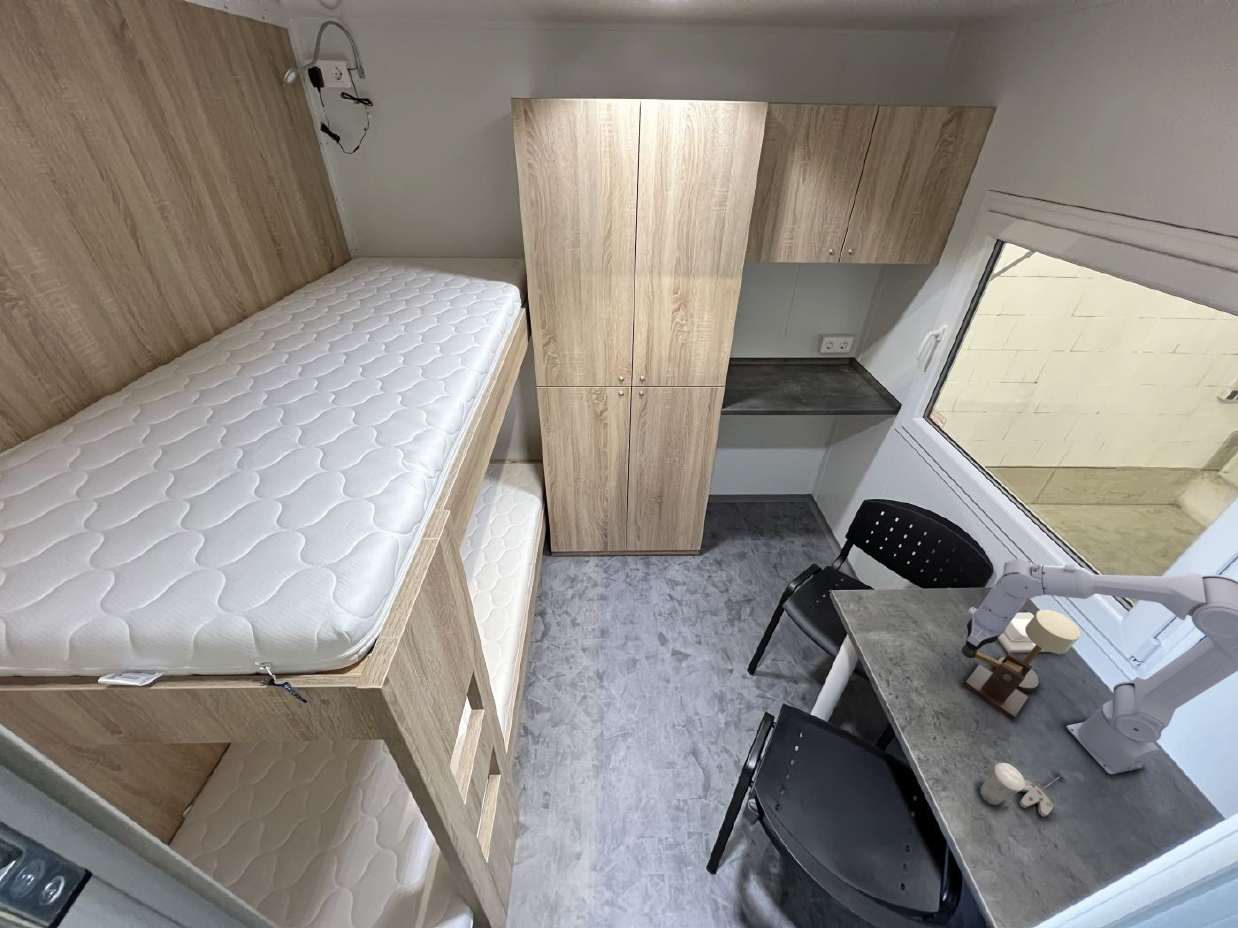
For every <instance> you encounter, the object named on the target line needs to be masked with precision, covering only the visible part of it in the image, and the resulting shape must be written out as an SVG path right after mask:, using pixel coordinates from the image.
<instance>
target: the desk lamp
mask: <svg viewBox="0 0 1238 928" xmlns="http://www.w3.org/2000/svg"><path fill="white" fill-rule="evenodd" d="M1025 631H1026V634H1027V636H1028V637H1029V639H1030V640H1031V641H1032V642H1033V643H1035V644H1036V645H1035V647H1034V648H1033V649H1032V650H1031V651H1030V652H1028V654H1027V655H1026V656H1025V657H1024V658H1023V661H1024V662H1026V663H1027V664H1029V665H1030V664H1031V663H1032V662H1033V661H1034V659H1035V658H1036V657H1037V656H1038V655H1039V653H1041V652H1040V651H1041V650H1042V649H1044V650H1046V651H1049V652H1048V653H1052V654H1057V655H1061V654H1065V653H1067V652H1068V651H1069V650H1070V649H1071V648H1072V647H1073V645H1074V644H1075V643H1076V642H1077V641H1079V639H1080V638H1081V636H1082V632H1081V629H1080V628H1079V626H1078V625H1077V624H1076V622H1074V621H1073V620H1072V619H1071V618H1070V617H1068V616H1067V615H1064V614H1062V613H1060V612H1058V611H1055V610H1051V609H1039V610H1038V611H1037V612H1036V613H1035V614H1034V617H1033V618H1032V620H1031V621H1030V622H1029V623H1028V625H1027V626H1026V628H1025ZM1005 657H1006V656H1001V657H999V658H998V659H997V660H998V661H1001V662H1002V661H1003V660H1004V658H1005ZM993 667H994V668H993V669H994V671H995V670H996V668H997V667H996V666H994V665H993ZM1039 683H1040V681H1039V677H1038V675H1037V673H1036V672H1035V671H1034V669H1033V667H1032V668H1031V670H1030V671H1029V672H1028V673H1027V674H1026V676H1025V679H1024V680H1023V681H1022V682H1021V683H1020V685H1019V686H1018V687H1017V688H1016V689H1017V690H1019V691H1020V692H1022V693H1031V692H1033V691H1034V690H1035V689H1036V688H1037V687H1038V686H1039Z"/></svg>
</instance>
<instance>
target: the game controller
mask: <svg viewBox="0 0 1238 928" xmlns="http://www.w3.org/2000/svg"><path fill="white" fill-rule="evenodd" d="M1060 778H1061V777H1060V776H1057V778H1055V779H1053V781H1051V782H1050V783H1048V784H1046V785H1045V786H1044V787H1043V788H1041V789H1040V788H1039V787H1038V786H1037V785H1036V784H1034V783H1033V782H1032V781H1030V780H1028V779H1025V778H1024V780H1025V786H1032V785H1035V787H1031V788H1023V789H1022V790H1021V791H1020V792H1022V793H1025V794H1024V795H1023V796H1022V798H1021V799H1020V801H1019V806H1020V807H1021V808H1025V809H1026V808H1028V807H1031V806H1034V805H1036V804H1037V811H1038V814H1039V815H1040V816H1041V817H1047V816H1048V815H1050V813H1051V812H1052V810H1053V808H1054V806H1053V805H1054V804H1053V803H1052V801H1051V800H1050V798H1049V797H1048V796H1047V795H1046V793H1044V792H1043V790H1044V789H1046V788H1047V787H1049V786H1050V785H1051V784H1053V783H1054V782H1056V781H1057V780H1058V779H1060Z"/></svg>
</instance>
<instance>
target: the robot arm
mask: <svg viewBox="0 0 1238 928" xmlns="http://www.w3.org/2000/svg"><path fill="white" fill-rule="evenodd" d="M1094 595H1102V596H1109V597H1116V598H1124V599H1129V600H1130V599H1131V600H1136V601H1142V602H1143V601H1144V602H1151V603H1157V604H1160V605H1162V606H1163V607H1164V608H1166V609H1167V610H1168V611H1169V612H1171V613H1172V614H1173V615H1174V616H1175V617H1177V618H1178V619H1180V620H1181V621H1185V620H1186V619H1187V616H1189V617H1190V618H1191V622H1192V624H1193V626H1195V628H1196V629H1197V630H1199V631H1200V632H1201V633H1202V634H1203V635H1204V636H1206V637H1204V638H1203V639H1202V640H1201V641H1199V642H1197V643H1195V645H1194V646H1192V647H1191V648H1189V649H1187V650H1186V651H1185V652H1183V653H1182V654H1181V655H1179V656H1178V657H1176V658H1174V659H1173V660H1172V661H1170V662H1169V663H1167V664H1166V665H1165V666H1163V667H1162V668H1160V669H1159V670H1158V671H1156V672H1155V673H1153V674H1152V675H1151V676H1149V677H1148V678H1143V677H1139V676H1136V677H1135V678H1134V679H1132V680H1128V681H1121V682H1118V683H1116V684H1115V685H1114V687H1113V691H1112V692H1113V698H1112V699H1111V700H1108V701H1106V702H1105V703H1104V704H1103V705H1101V706H1100V707H1099V708H1098V709H1096V711H1095V712H1093V713H1092V714H1091V716H1089V717H1088V718H1087V719H1086V720H1085V721H1084V722H1083V721H1082V722H1078V723H1074V724H1068V725H1066V726H1065V727H1066V729H1067V730H1068V732H1069V733H1070V734H1071V735H1072V736H1073V737H1074V738H1075V740H1077V742H1078V743H1079V744H1080V745H1081V746H1082V747H1083V748H1084V749H1085V750H1086V751H1087V753H1089V755H1090V756H1091V757H1092V758H1093V759H1094V760H1095V762H1097V763H1098V764H1099V766H1100V767H1101V768H1103V771H1105V773H1107V774H1108V775H1115V774H1121V773H1124V772H1128V771H1134V770H1138V769H1141V768H1143V765H1145V764H1146V763H1148V762H1149V761H1150V760H1151V759H1153V758H1155V757H1156V756H1158V754H1159V753H1160V749H1159V748H1158V747H1157V745H1156V744H1155V742H1157V741H1159V740H1161V737H1162V732H1163V730H1164V729H1166V728H1168V727H1169V726H1170V723H1171V721H1172V718H1173V717H1174V714H1175V712H1176V710H1177V709H1178V708H1180V707H1182V706H1183V705H1184V704H1187V703H1188V702H1189V701H1191V700H1193V699H1194V698H1196V697H1198V696H1199V695H1201V694H1202V693H1204V692H1206V691H1208V690H1209V689H1211V688H1213V687H1214V686H1216V685H1217V684H1219V683H1220V682H1222V681H1223V680H1225V679H1228V677H1230V676H1232V675H1234V674H1235V673H1236V672H1238V580H1237V579H1234V578H1233V577H1230V576H1226V575H1221V574H1201V573H1195V572H1188V573H1182V574H1177V575H1172V576H1158V575H1157V576H1156V575H1123V574H1121V575H1120V574H1119V575H1118V574H1117V575H1116V574H1095V573H1093V572H1091V571H1090V570H1088V569H1087V568H1085V567H1079V566H1075V565H1074V564H1065V565H1050V564H1039V563H1034V562H1031V561H1029V560H1028V559H1022V558H1017V559H1012V560H1009V561H1008V562H1007V561H1006V562H1004V564H1003V571H1002V574H1001V576H1000V577H999V578H998V579H997V581H996V583H994V584H993V585H992V587H991V589H990V590H989V591H988V592H987V594H986V596H985V598H984V599H983V600H982V602H981V603H980V605H979V606H978V608H976V607H973V606H971V607H970V608H969V609H968V610H967V614H969V615H970V616H971V618H970V620H969V621H967V624H966V628H967V637H966V640H965V645H966V646H968V647H969V648H971V649H972V650H974V651H976V650H977V651H978V650H979V649H981V648H982V647H984V646H985V645H988V644H993V643H995V642H996V641H998V637H999V636H1000V635H1001V634H1003V633H1004V632H1005V631H1006V628H1007V626H1008V625H1009V623H1010V622H1011V621H1012V619H1013V618H1014V617H1015V615H1016V614H1017V613H1019V612H1020V610H1021V609H1022V608H1023V606H1024V605H1025V604H1026V602H1027V600H1030V599H1031V600H1032V599H1033V598H1036V597H1042V596H1051V597H1052V596H1053V597H1062V598H1070V599H1071V598H1073V599H1081V600H1086V599H1089V598H1090V597H1092V596H1094Z"/></svg>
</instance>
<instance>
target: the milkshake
mask: <svg viewBox="0 0 1238 928" xmlns="http://www.w3.org/2000/svg"><path fill="white" fill-rule="evenodd" d="M1035 785H1036V784H1034V785H1032V786H1025V778H1024V776H1023V775H1022V773H1021V772H1020V771H1019V770H1018V769H1017V768H1016V767H1014V766H1013V765H1011V764H1010V763H1007V762H998V763H996V764H995V766H994V767H993V769H992V770H991V772H990V774H989V775H988V777H987V778H986V779H985V781H984V782H983V783H982V785H980V787H979V795H980V796H981V797H982V799H983V800H984V801H985V802H987V803H988V804H989V805H993V806H997V805H999V804H1001V803H1002V802H1004V801H1005V800H1006V799H1008V798H1010V797H1012V796H1014V795H1016V794H1017V793H1019V792H1022V791H1021V790H1022V789H1023V788H1031V787H1035Z"/></svg>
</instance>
